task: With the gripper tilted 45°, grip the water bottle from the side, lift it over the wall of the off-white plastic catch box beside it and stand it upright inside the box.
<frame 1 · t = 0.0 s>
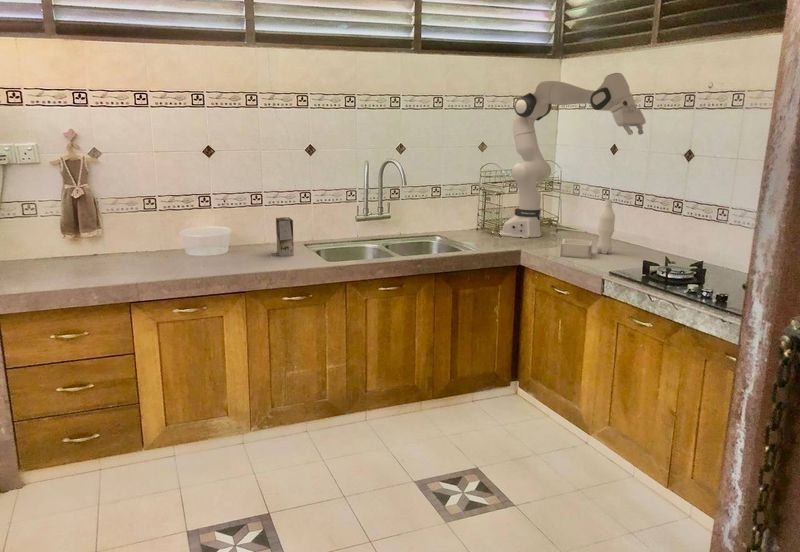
hand: (636, 134, 289), 54 cm above the worktop, tool tilted 30°, fingers open, 8 cm apart
catch box: (575, 254, 296), on the worktop
coffee box: (285, 254, 291), on the worktop
water bottle: (603, 253, 300), on the worktop
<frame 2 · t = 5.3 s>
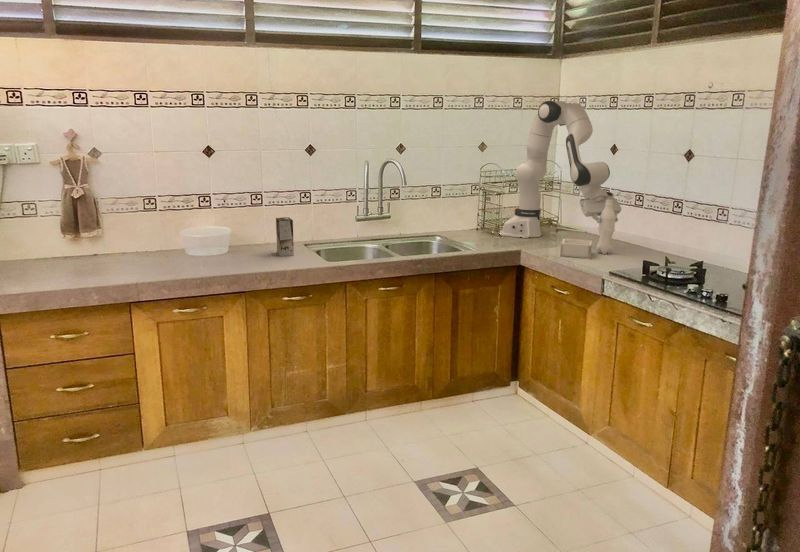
hand: (608, 221, 296), 15 cm above the worktop, tool tilted 45°, fingers open, 8 cm apart
water bottle: (603, 253, 300), on the worktop, touching gripper
everything else where it was.
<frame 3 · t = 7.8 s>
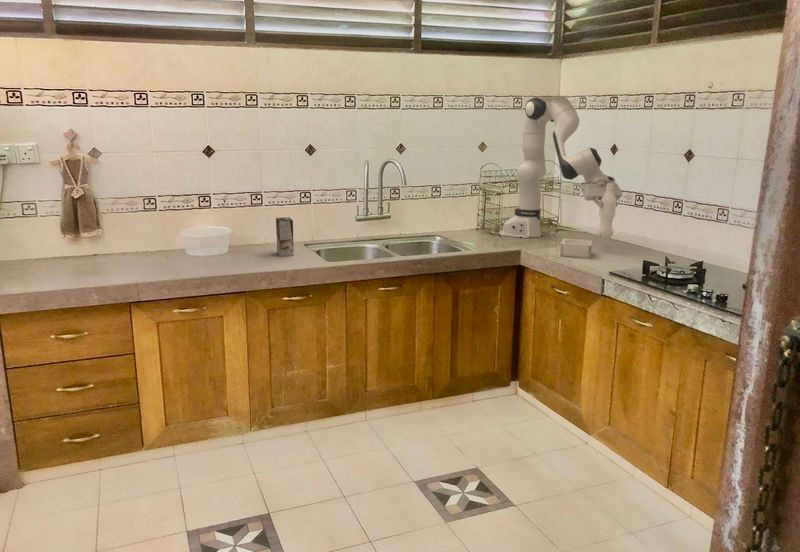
hand: (608, 206, 294), 22 cm above the worktop, tool tilted 45°, fingers closed on water bottle, 7 cm apart
water bottle: (604, 238, 298), point 7 cm above the worktop, touching gripper
everything else where it was.
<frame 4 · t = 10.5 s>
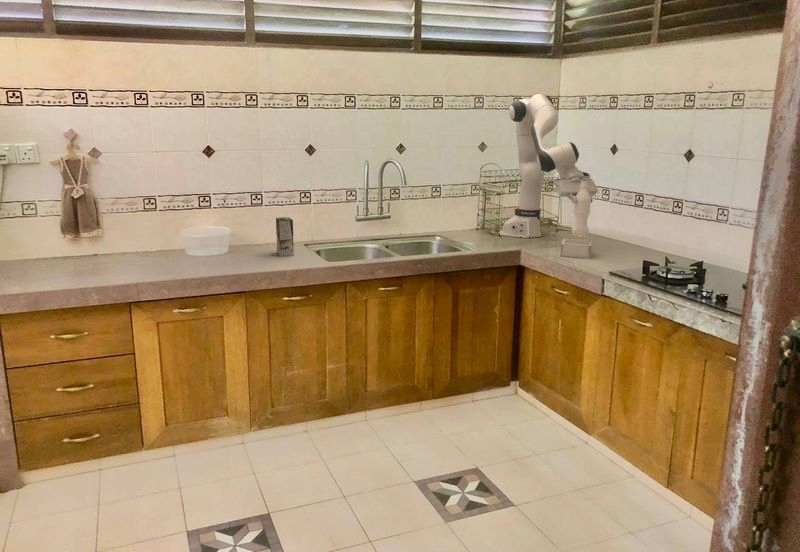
hand: (583, 202, 290), 24 cm above the worktop, tool tilted 45°, fingers closed on water bottle, 7 cm apart
water bottle: (579, 236, 294), point 8 cm above the worktop, touching gripper
everything else where it was.
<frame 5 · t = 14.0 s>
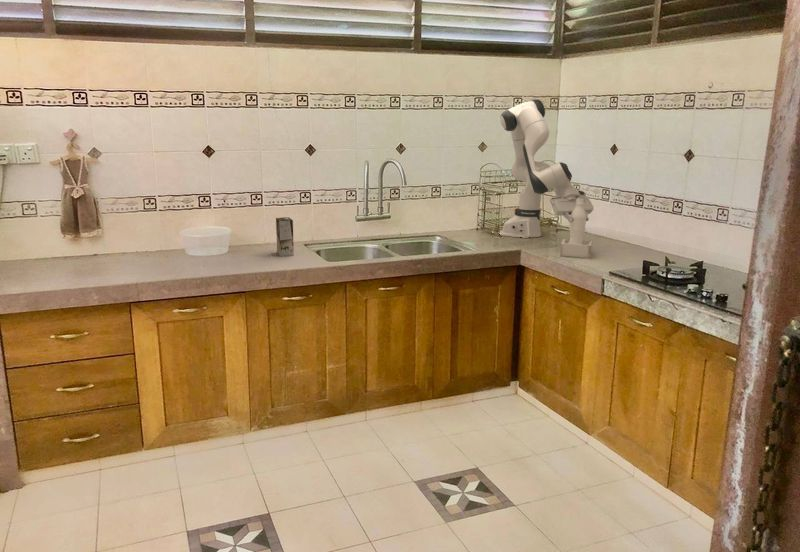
hand: (579, 221, 291), 16 cm above the worktop, tool tilted 45°, fingers closed on water bottle, 7 cm apart
water bottle: (574, 253, 296), point 1 cm above the worktop, touching catch box, gripper
everything else where it was.
when the fingers open (16 cm above the worktop, at t = 15.4 s): water bottle stays where it is, resting on catch box.
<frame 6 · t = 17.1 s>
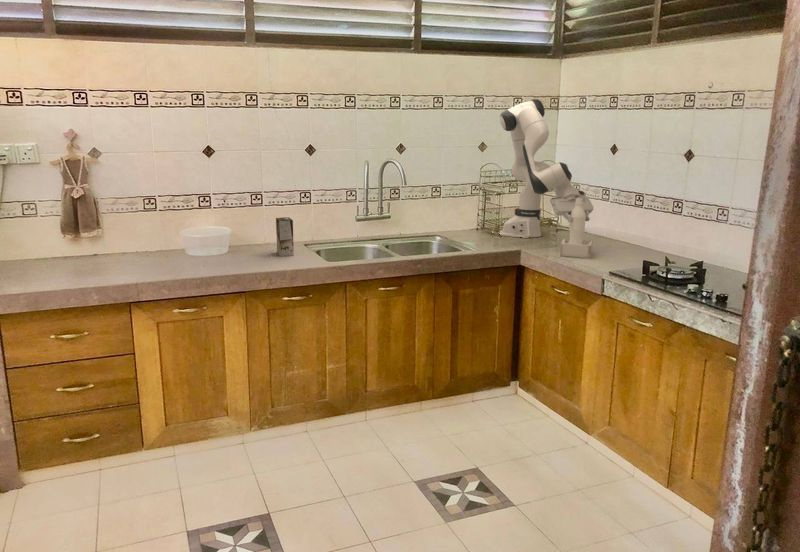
hand: (579, 221, 292), 16 cm above the worktop, tool tilted 45°, fingers open, 8 cm apart
water bottle: (574, 253, 296), point 1 cm above the worktop, touching catch box, gripper
everything else where it was.
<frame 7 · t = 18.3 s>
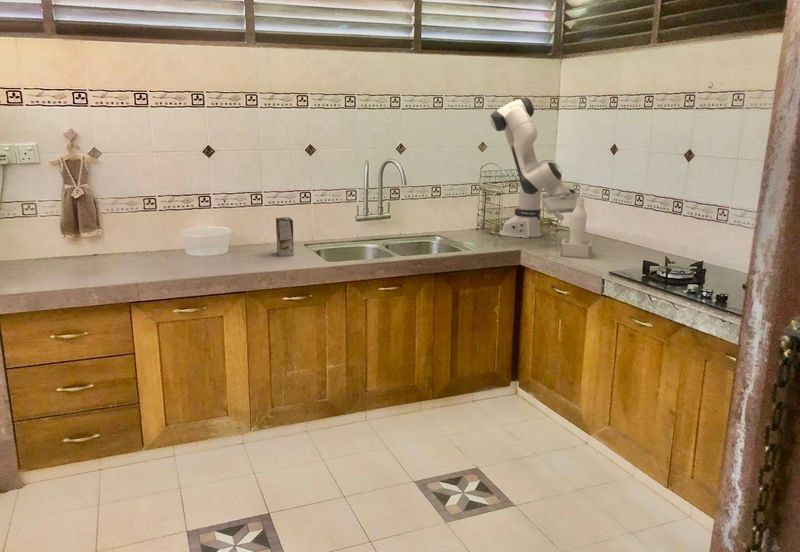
hand: (570, 218, 298), 16 cm above the worktop, tool tilted 45°, fingers open, 8 cm apart
water bottle: (574, 253, 296), point 1 cm above the worktop, touching catch box
everything else where it was.
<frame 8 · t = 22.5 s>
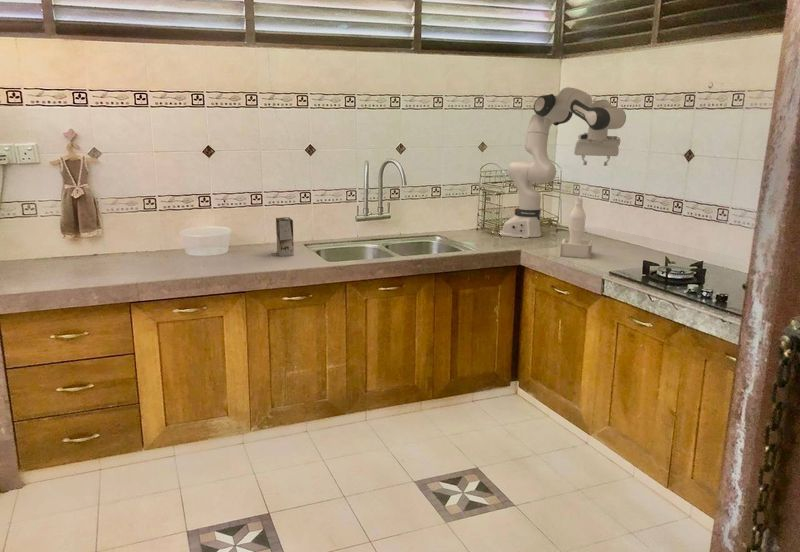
hand: (595, 165, 308), 39 cm above the worktop, tool pointing down, fingers open, 8 cm apart
nothing on the worktop moved.
at the end: water bottle inside the target area on the catch box (0.7 cm from its centre), point 0.6 cm above the catch box's base; water bottle tilted 0°; the gripper is holding nothing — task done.
